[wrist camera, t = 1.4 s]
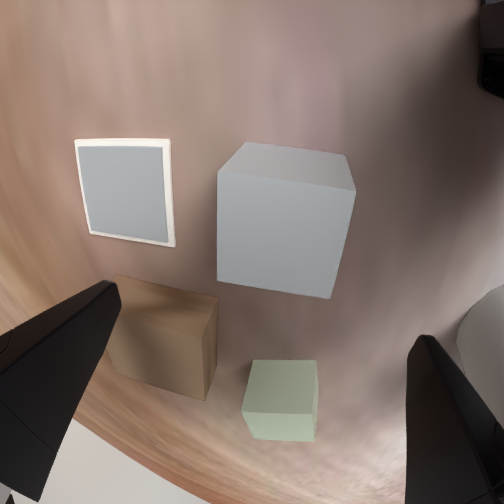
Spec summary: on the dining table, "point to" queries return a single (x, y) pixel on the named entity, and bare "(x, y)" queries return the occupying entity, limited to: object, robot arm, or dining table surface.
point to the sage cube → (282, 400)
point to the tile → (128, 188)
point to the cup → (485, 349)
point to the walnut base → (165, 337)
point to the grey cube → (283, 218)
